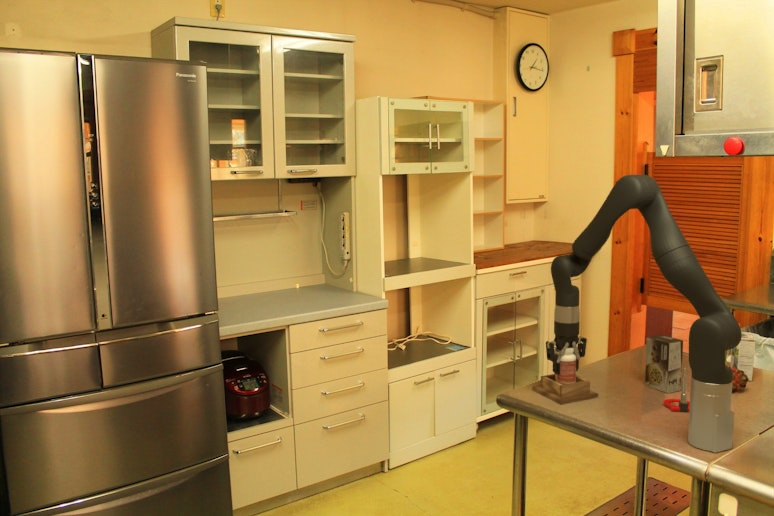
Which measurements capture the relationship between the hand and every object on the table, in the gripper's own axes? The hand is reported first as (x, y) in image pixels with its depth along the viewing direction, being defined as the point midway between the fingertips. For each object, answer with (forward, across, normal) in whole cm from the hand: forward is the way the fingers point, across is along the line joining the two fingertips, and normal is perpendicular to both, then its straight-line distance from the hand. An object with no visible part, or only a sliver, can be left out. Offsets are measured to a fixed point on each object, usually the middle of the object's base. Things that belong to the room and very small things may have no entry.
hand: (565, 372), depth 202 cm
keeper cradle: (+7, 0, 0) cm, 7 cm away
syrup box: (+7, +61, -13) cm, 63 cm away
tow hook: (+7, +23, -23) cm, 33 cm away
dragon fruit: (+7, +47, -19) cm, 51 cm away
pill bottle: (+3, 0, 0) cm, 3 cm away
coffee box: (+7, +31, -9) cm, 33 cm away
